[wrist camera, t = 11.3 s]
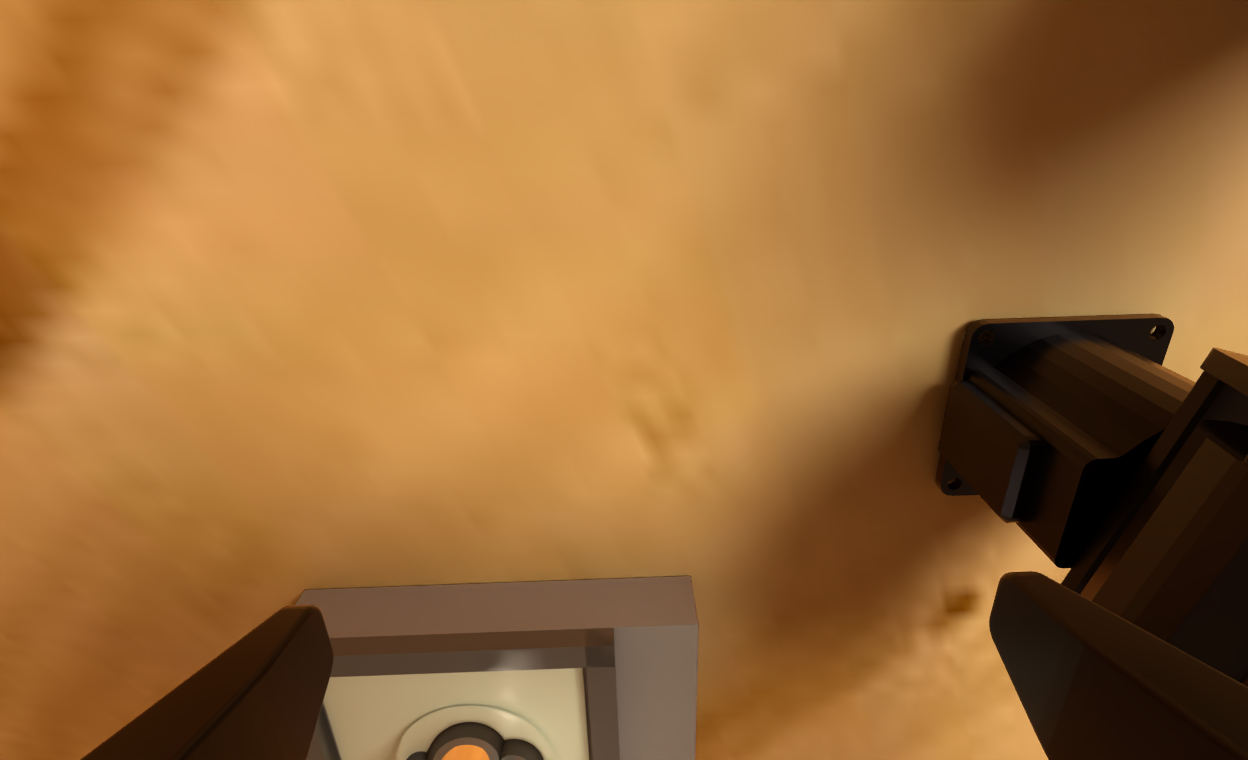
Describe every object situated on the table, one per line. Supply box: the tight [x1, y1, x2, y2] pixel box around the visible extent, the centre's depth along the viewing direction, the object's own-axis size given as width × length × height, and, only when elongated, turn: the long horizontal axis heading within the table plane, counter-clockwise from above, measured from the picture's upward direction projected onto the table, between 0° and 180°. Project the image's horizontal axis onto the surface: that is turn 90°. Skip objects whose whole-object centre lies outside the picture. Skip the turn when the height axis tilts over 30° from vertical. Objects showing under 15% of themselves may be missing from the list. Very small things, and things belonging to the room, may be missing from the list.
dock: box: [295, 576, 699, 760], centre depth 26 cm, size 15×11×3 cm
